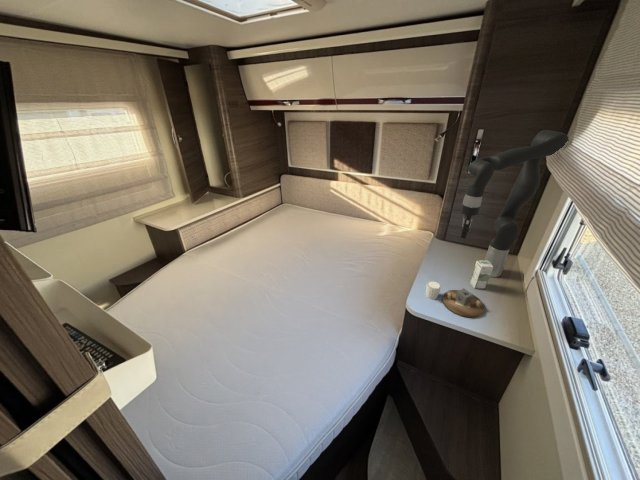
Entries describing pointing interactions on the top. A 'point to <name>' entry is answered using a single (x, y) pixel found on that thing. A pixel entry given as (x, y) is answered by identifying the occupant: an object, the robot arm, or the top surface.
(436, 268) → the top surface
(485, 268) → the syrup box
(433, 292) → the white cup
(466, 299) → the dice cube
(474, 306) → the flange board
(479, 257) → the top surface
